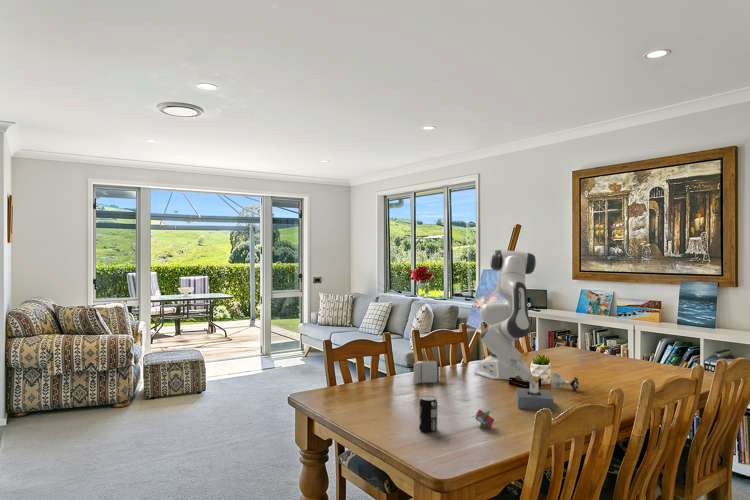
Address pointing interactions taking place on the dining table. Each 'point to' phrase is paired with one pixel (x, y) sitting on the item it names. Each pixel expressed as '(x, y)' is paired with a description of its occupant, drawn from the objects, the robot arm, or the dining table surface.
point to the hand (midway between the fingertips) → (534, 381)
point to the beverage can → (428, 414)
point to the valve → (563, 382)
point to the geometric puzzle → (484, 419)
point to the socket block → (534, 399)
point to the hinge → (426, 371)
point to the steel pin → (534, 388)
